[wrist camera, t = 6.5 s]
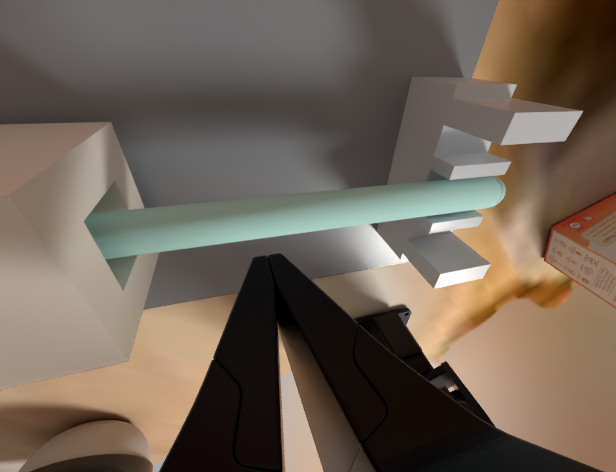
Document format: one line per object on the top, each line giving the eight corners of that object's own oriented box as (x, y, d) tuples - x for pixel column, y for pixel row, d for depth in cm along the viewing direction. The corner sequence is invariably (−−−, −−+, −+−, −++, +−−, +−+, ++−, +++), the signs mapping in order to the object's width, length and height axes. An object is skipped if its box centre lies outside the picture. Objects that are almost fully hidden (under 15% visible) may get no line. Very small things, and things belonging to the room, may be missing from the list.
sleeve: (160, 248, 13) (128, 361, 8) (14, 268, 12) (-122, 417, 7) (111, 121, 10) (8, 195, 5) (-108, 127, 8) (-548, 238, 3)
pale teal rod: (454, 206, 16) (513, 246, 12) (-236, 294, 9) (-483, 429, 6) (483, 137, 13) (564, 166, 10) (-428, 186, 6) (-1019, 316, 3)
